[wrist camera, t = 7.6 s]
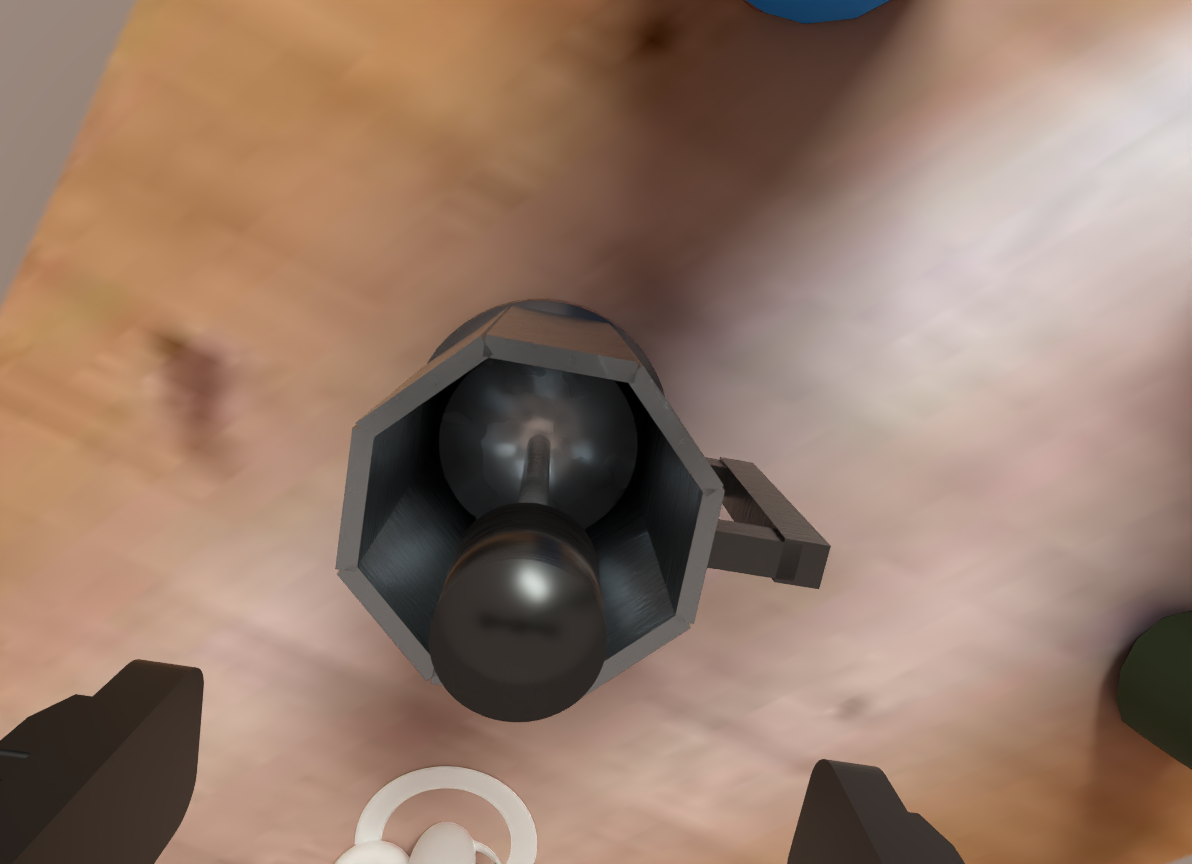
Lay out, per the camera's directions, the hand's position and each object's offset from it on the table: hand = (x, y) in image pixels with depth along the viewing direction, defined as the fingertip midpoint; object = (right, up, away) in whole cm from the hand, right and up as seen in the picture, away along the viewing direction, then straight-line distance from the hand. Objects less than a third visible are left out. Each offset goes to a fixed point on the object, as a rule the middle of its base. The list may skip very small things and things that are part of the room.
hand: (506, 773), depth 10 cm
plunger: (-1, +4, +17) cm, 18 cm away
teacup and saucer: (-8, -12, +24) cm, 28 cm away
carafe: (0, +4, +20) cm, 20 cm away
